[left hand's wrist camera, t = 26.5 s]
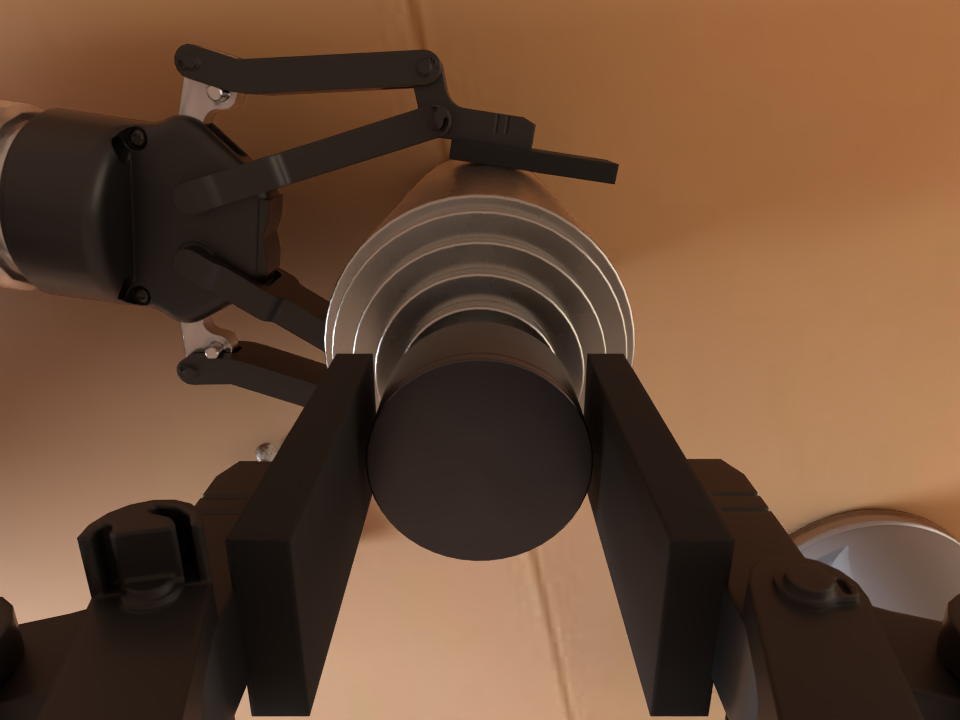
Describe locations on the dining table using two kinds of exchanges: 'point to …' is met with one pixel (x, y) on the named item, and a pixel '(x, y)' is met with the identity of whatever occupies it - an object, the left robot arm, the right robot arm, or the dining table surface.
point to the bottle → (479, 273)
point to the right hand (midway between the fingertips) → (587, 279)
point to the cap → (479, 443)
